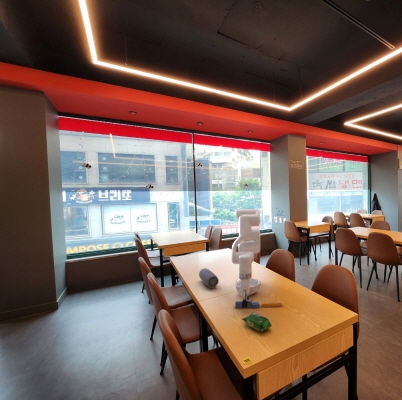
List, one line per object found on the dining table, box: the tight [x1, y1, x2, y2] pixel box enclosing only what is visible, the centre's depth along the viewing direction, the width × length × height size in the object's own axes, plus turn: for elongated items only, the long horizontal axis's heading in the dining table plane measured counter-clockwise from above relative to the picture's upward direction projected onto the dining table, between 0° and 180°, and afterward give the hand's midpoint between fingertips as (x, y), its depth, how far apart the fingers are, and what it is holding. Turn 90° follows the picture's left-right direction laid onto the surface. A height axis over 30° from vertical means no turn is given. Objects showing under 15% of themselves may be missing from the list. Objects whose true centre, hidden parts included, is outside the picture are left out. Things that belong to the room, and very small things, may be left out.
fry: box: [261, 301, 282, 308], centre depth 138 cm, size 12×2×2 cm, turn 93°
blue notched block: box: [234, 300, 260, 309], centre depth 137 cm, size 14×4×3 cm, turn 93°
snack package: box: [241, 312, 272, 333], centre depth 115 cm, size 7×16×5 cm, turn 52°
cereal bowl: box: [235, 278, 261, 296], centre depth 157 cm, size 17×17×7 cm
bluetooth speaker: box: [198, 267, 219, 288], centre depth 173 cm, size 23×9×10 cm, turn 35°
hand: (245, 303), depth 137 cm, fingers open, 9 cm apart
